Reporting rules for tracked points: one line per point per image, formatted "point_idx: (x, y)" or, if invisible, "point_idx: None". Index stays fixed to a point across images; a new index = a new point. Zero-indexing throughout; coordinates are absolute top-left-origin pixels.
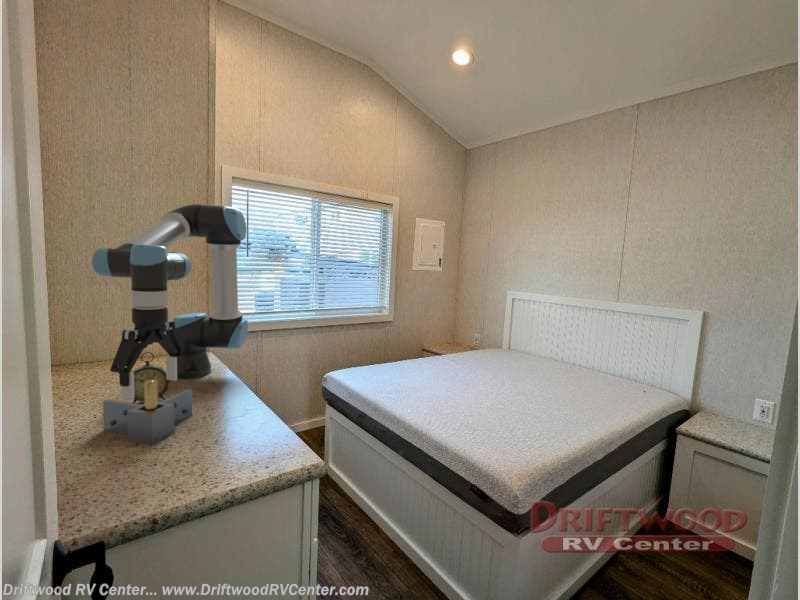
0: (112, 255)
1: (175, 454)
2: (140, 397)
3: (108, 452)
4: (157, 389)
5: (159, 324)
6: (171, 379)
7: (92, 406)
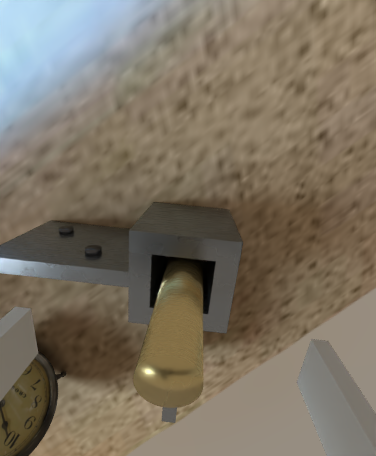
0: None
1: (267, 117)
2: (44, 377)
3: (272, 278)
4: (158, 318)
5: None
6: (31, 330)
7: (99, 424)
